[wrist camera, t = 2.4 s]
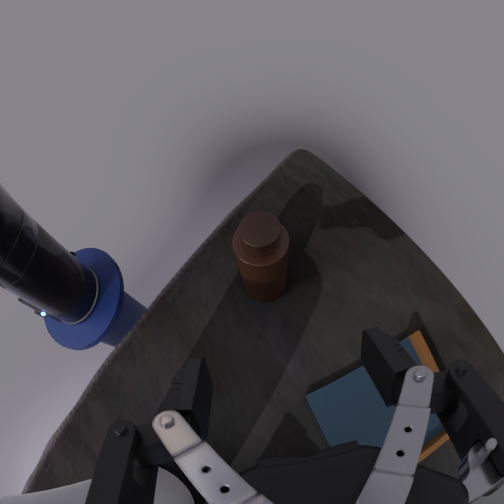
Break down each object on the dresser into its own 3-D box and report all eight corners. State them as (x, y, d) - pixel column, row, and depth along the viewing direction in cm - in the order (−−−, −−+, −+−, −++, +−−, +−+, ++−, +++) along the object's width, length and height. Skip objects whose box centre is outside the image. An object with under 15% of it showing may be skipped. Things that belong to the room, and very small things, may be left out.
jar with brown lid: (254, 308, 32) (242, 264, 22) (238, 272, 35) (220, 216, 24) (293, 291, 33) (300, 240, 22) (275, 256, 35) (273, 196, 25)
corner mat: (352, 493, 20) (358, 500, 18) (304, 395, 27) (307, 395, 25) (451, 425, 21) (462, 426, 19) (410, 333, 28) (419, 329, 26)
